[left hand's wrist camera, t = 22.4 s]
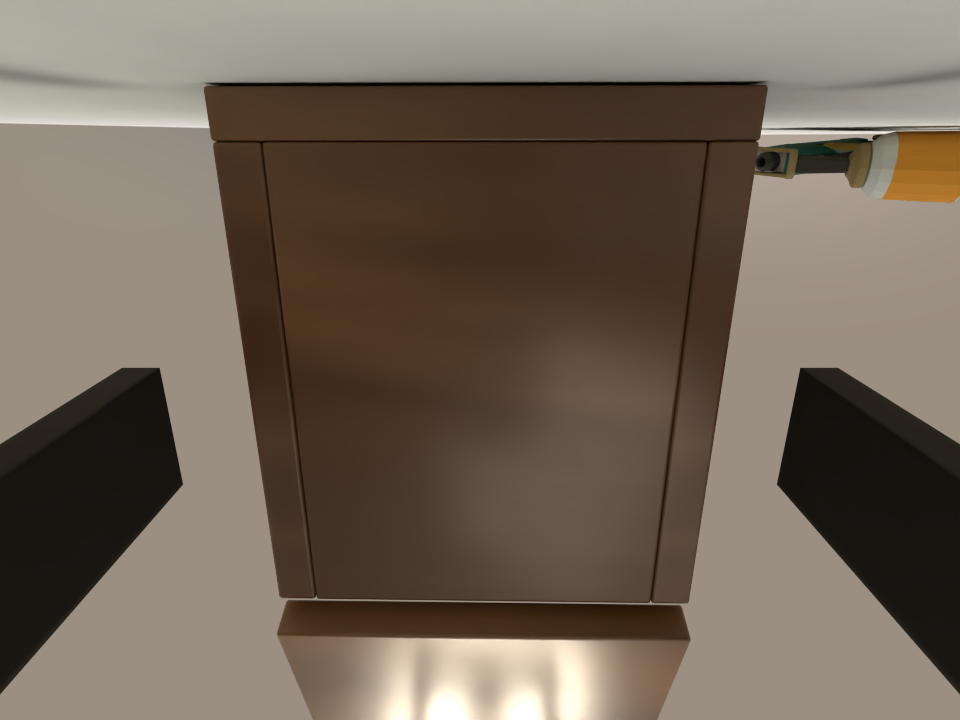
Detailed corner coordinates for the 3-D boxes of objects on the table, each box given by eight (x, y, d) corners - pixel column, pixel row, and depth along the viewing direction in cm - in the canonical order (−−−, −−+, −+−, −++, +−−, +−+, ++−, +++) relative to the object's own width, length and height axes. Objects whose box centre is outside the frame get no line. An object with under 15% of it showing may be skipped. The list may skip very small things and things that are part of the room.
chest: (593, 121, 26) (579, 348, 30) (384, 121, 26) (395, 347, 30) (770, 84, 10) (689, 605, 13) (202, 85, 10) (278, 599, 13)
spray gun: (1035, 122, 42) (809, 119, 52) (1018, 136, 31) (735, 129, 41) (1014, 183, 44) (799, 170, 53) (991, 217, 33) (725, 193, 42)
